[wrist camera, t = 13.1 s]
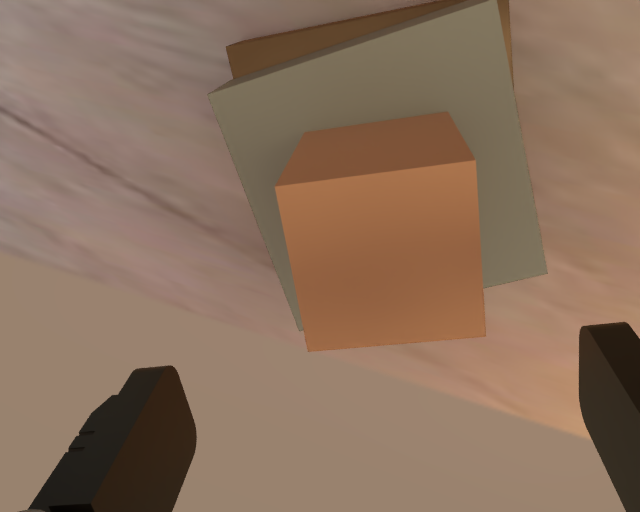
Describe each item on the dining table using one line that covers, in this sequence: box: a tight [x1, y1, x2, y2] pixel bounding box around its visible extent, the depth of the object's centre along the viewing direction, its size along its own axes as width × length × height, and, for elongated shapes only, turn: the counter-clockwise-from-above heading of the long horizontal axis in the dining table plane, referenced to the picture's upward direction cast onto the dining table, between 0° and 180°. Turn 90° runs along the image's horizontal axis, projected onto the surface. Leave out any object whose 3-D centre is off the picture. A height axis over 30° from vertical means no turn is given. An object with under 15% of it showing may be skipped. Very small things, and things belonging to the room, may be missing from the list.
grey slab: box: [208, 0, 548, 331], centre depth 25 cm, size 11×11×4 cm
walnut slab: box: [226, 0, 514, 90], centre depth 29 cm, size 12×12×4 cm
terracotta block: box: [275, 112, 486, 352], centre depth 20 cm, size 6×6×7 cm
